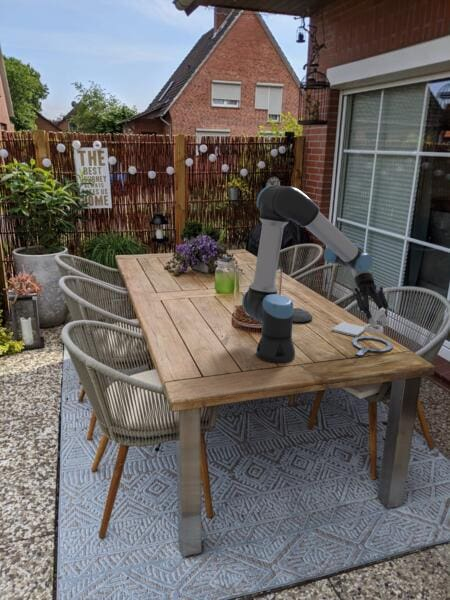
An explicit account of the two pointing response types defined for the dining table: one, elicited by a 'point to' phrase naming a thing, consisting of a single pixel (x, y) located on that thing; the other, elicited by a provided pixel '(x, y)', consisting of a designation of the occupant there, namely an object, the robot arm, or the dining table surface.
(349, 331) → the tile
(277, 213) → the robot arm
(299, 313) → the flying saucer
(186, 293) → the dining table surface
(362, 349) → the eye ring
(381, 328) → the hook
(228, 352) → the dining table surface
